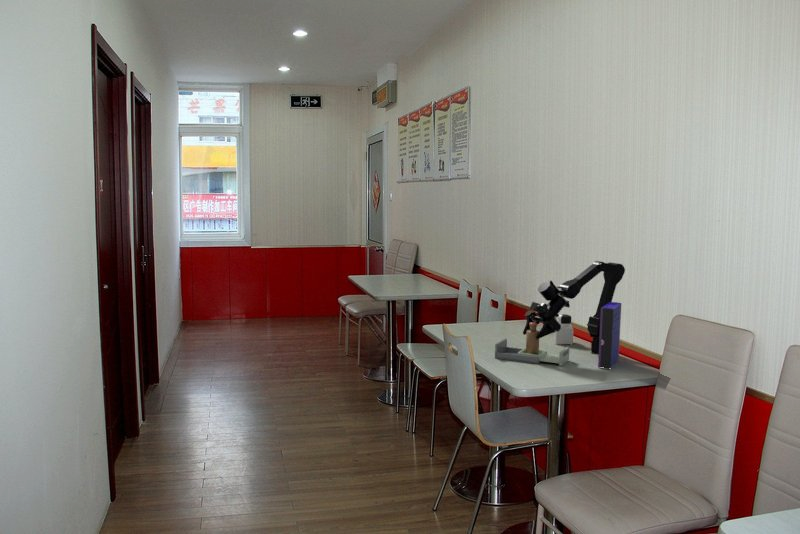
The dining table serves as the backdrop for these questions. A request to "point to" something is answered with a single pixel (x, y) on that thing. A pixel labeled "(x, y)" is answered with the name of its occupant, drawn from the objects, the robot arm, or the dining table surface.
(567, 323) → the container
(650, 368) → the dining table surface
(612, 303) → the cereal box
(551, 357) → the tray
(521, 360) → the dock
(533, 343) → the vinegar bottle
